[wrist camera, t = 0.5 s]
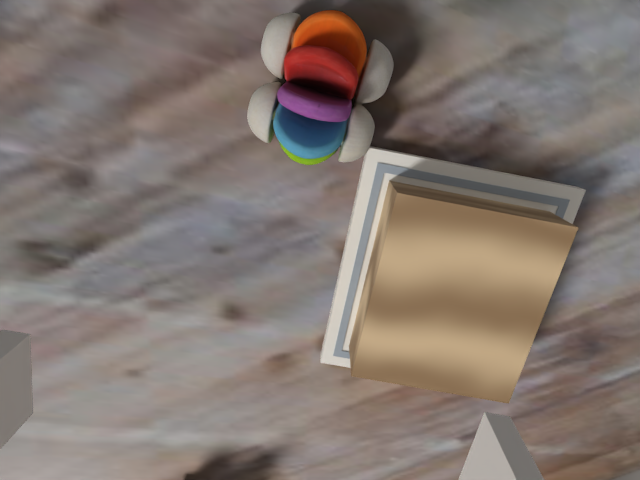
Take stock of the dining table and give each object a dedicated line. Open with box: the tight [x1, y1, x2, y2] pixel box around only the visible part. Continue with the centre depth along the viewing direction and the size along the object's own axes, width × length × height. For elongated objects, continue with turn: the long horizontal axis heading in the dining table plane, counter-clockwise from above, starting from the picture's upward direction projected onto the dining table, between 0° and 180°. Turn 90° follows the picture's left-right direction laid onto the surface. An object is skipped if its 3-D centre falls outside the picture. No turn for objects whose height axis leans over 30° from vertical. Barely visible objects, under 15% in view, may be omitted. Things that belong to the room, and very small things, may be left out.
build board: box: [320, 146, 586, 368], centre depth 35 cm, size 18×16×1 cm
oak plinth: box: [349, 181, 579, 403], centre depth 32 cm, size 14×12×4 cm
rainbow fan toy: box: [247, 10, 394, 165], centre depth 28 cm, size 8×10×7 cm
